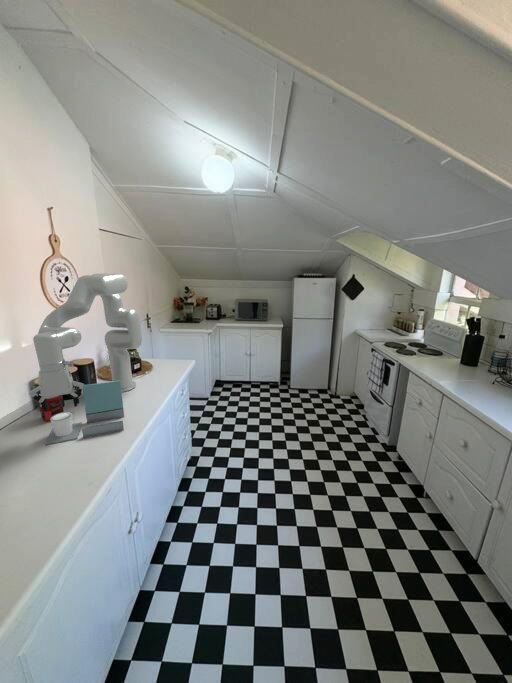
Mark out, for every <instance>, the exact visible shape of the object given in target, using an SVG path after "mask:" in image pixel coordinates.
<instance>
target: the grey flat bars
mask: <svg viewBox="0 0 512 683" xmlns="http://www.w3.org/2000/svg"><path fill="white" fill-rule="evenodd" d="M124 417H125V411H124V407H123V408H120V409H114V410H108V411H102V412H96V413H90V414H86V413H85V418H86V419H85V420H86V423H87V424H91V423H96V422H98V423H99V422H104V421H107V420H108V421H109V420H114V419H120V418H124ZM124 430H125V429H124V420H118V421H117V420H116V421H113V422H108V423H107V422H106V423H102V424H101V423H100V424H95V425H91V426H84V427H81V431H82V438H84V439H86V438H90V437H95V436H100V435H106V434H110V433H111V434H112V433H116V432H121V431H124Z"/></svg>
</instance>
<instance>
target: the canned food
mask: <svg viewBox="0 0 512 683" xmlns="http://www.w3.org/2000/svg"><path fill="white" fill-rule="evenodd" d="M38 395H40V396H41V393H39V394H38ZM45 399H47V402H48V406H49V409H48V410H47V412H44V409H42V406H41V403H40V402H39V401H37V402H38V407H39V410H40V415H41V420H42V421H44V422H51V420H50V419H51V417H52V416H54V415H56V414H59V413H63V412H65V411H64V410H65V409H64V405H63V399H62V395H58V396H52V397H46V398H45Z"/></svg>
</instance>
